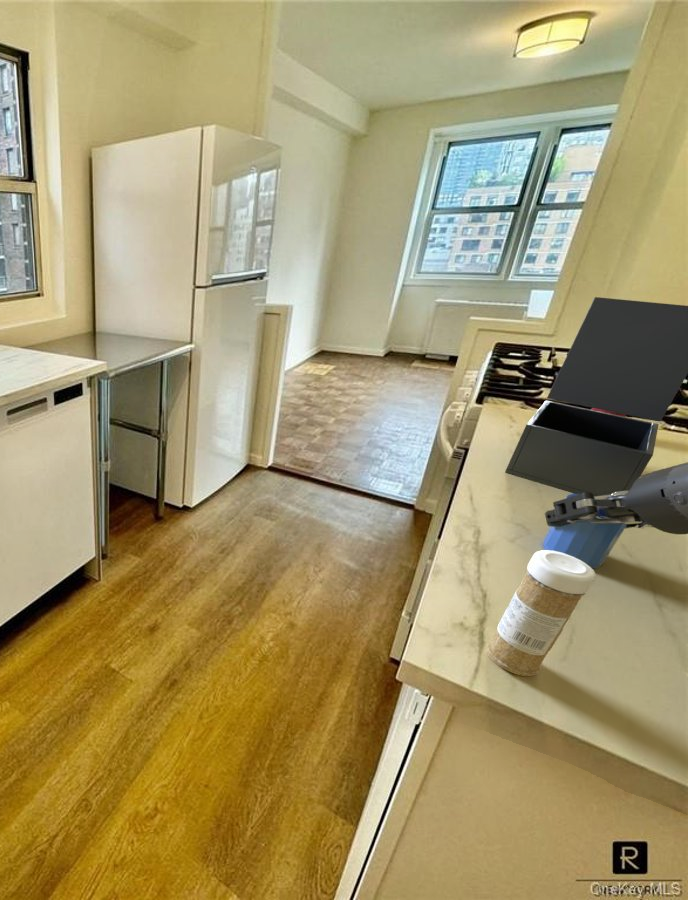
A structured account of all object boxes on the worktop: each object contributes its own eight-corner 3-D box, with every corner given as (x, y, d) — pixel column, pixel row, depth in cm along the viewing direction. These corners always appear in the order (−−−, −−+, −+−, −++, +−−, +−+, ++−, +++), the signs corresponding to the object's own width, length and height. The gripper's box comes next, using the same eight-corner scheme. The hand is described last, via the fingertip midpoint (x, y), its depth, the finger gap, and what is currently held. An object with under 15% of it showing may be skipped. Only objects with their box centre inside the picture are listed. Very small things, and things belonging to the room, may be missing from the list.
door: (724, 309, 79) (723, 309, 80) (594, 297, 90) (595, 297, 90) (660, 421, 86) (660, 421, 86) (546, 398, 96) (547, 398, 97)
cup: (592, 547, 70) (620, 500, 66) (609, 573, 65) (640, 524, 61) (536, 534, 73) (560, 489, 69) (549, 559, 68) (575, 511, 64)
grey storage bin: (621, 507, 80) (653, 454, 75) (504, 472, 90) (526, 424, 86) (630, 471, 91) (658, 423, 86) (525, 444, 101) (545, 400, 97)
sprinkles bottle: (543, 664, 52) (604, 567, 46) (528, 685, 50) (590, 586, 44) (492, 636, 55) (543, 542, 49) (476, 655, 53) (527, 558, 47)
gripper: (772, 465, 53) (626, 499, 69) (626, 457, 55) (516, 492, 70) (797, 534, 51) (639, 552, 66) (643, 522, 52) (525, 543, 68)
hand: (576, 521), depth 68 cm, fingers closed on cup, 6 cm apart
